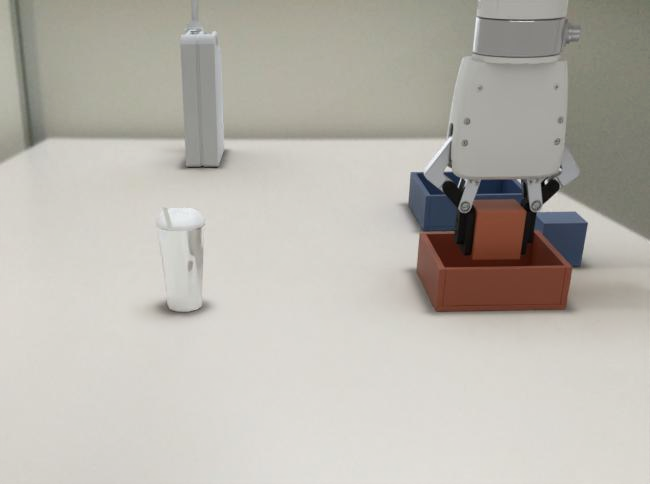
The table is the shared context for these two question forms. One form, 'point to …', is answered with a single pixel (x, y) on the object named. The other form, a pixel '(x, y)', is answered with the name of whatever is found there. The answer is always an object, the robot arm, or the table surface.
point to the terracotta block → (498, 229)
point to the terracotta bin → (492, 276)
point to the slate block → (564, 233)
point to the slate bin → (438, 208)
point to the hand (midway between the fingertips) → (491, 249)
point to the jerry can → (202, 94)
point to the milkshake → (182, 256)
